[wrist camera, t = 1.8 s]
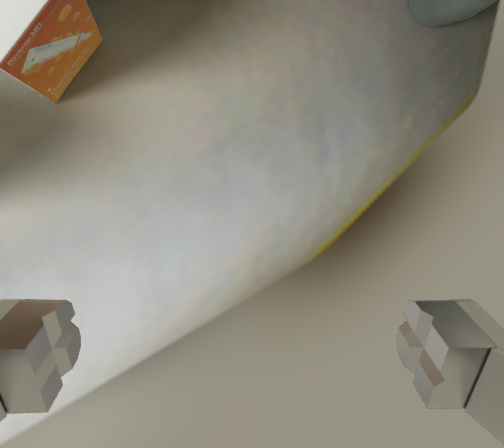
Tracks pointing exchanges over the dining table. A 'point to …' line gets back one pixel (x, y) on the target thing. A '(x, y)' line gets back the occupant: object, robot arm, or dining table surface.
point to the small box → (46, 42)
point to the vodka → (446, 10)
